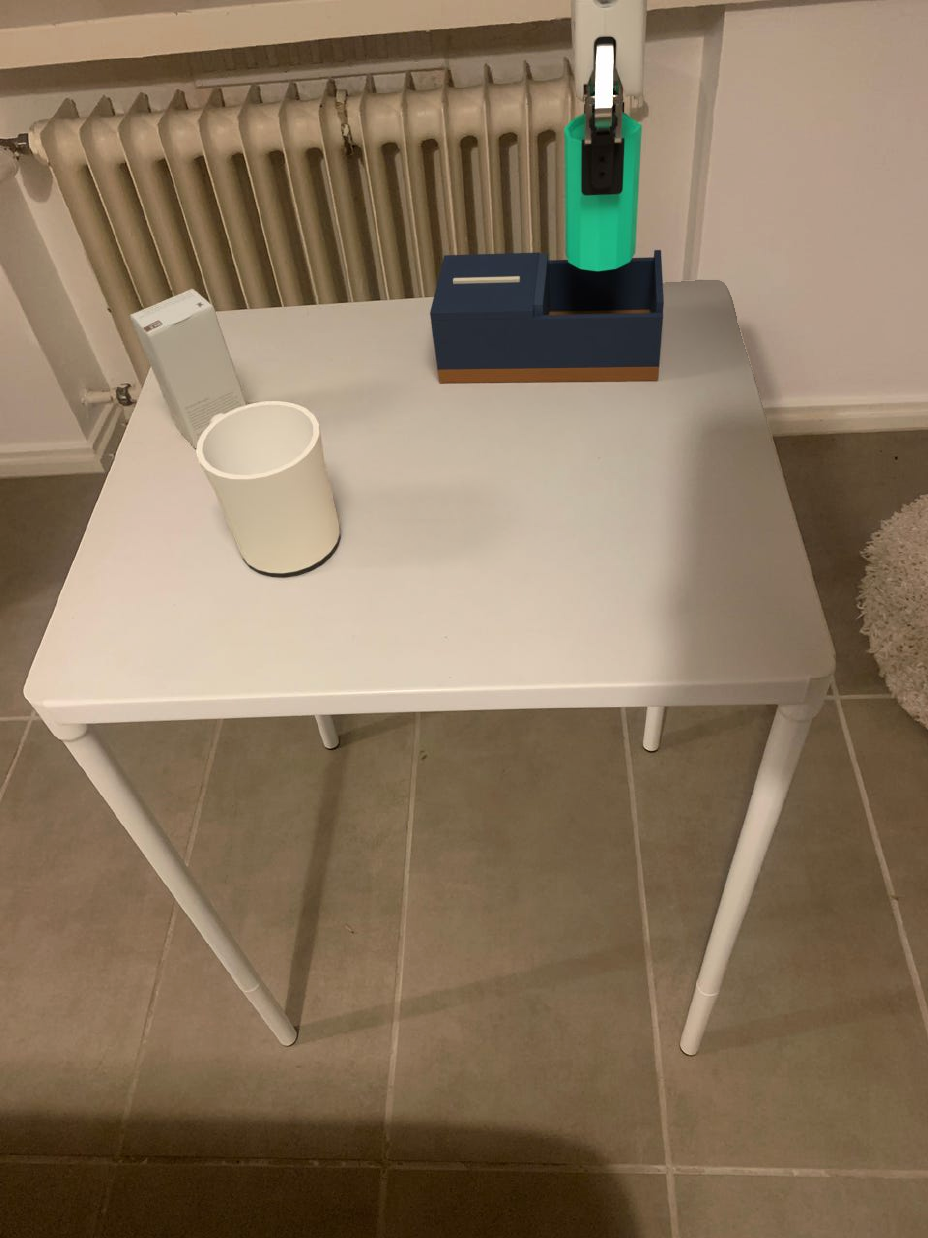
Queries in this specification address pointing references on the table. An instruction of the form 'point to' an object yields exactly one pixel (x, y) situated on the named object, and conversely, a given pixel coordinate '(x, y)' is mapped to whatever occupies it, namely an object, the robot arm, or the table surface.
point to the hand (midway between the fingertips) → (602, 171)
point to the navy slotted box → (546, 320)
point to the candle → (601, 204)
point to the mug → (272, 485)
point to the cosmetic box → (189, 361)
